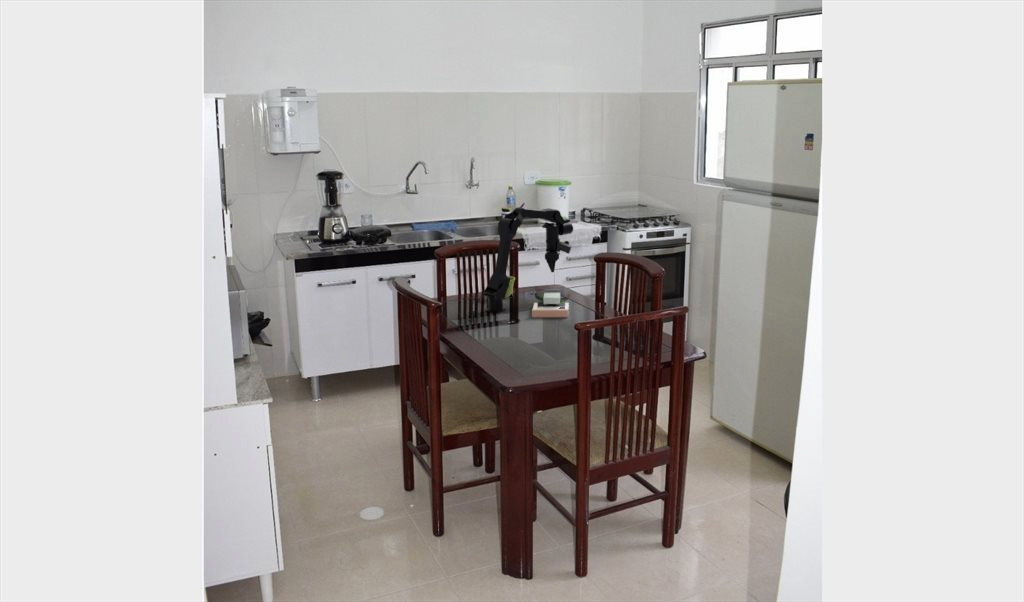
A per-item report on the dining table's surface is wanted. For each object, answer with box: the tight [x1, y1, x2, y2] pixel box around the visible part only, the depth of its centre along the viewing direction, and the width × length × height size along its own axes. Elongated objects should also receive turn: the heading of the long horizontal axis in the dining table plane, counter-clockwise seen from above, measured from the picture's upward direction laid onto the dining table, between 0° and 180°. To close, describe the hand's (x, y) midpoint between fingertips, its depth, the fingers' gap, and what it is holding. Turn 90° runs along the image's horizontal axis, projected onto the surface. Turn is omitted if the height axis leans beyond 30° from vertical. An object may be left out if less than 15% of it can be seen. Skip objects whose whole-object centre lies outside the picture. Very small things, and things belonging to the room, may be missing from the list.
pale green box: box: [543, 288, 561, 307], centre depth 347 cm, size 10×7×5 cm
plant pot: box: [504, 275, 516, 299], centre depth 360 cm, size 9×9×9 cm
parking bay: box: [531, 302, 570, 318], centre depth 334 cm, size 16×15×3 cm
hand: (552, 270), depth 356 cm, fingers open, 5 cm apart
